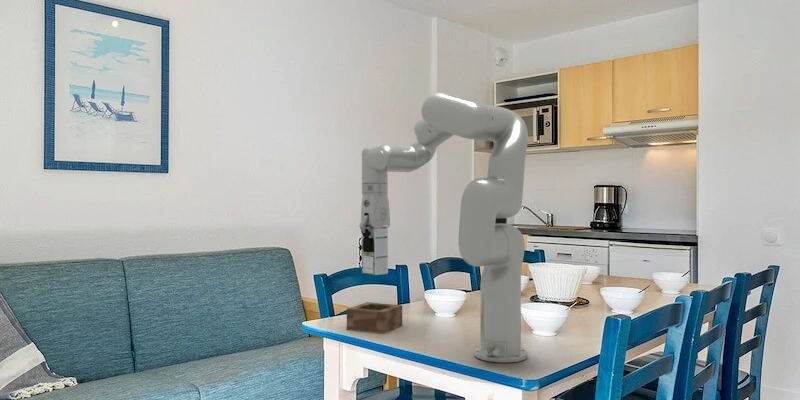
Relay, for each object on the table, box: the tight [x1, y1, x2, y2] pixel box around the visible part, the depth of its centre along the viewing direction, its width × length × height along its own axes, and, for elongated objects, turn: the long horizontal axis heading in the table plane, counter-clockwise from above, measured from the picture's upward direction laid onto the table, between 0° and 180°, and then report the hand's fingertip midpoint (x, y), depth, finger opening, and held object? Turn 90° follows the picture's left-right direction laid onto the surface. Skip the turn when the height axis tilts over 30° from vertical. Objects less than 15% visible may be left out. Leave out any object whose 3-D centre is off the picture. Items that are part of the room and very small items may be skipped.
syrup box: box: [361, 224, 389, 276], centre depth 174 cm, size 6×6×14 cm
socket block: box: [346, 301, 403, 335], centre depth 174 cm, size 12×12×6 cm
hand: (374, 250), depth 174 cm, fingers closed on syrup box, 7 cm apart
